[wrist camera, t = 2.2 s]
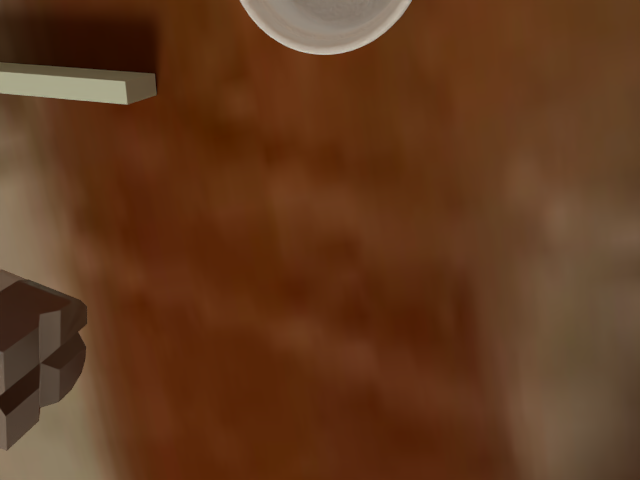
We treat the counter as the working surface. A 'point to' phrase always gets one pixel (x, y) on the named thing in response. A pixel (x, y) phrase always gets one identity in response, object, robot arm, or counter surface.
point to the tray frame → (76, 83)
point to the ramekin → (325, 22)
